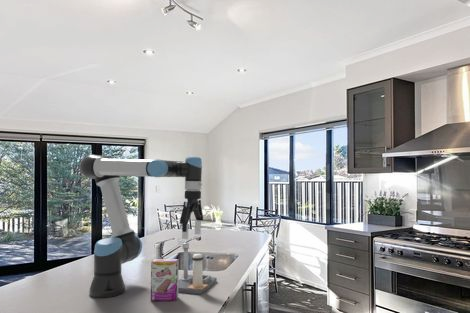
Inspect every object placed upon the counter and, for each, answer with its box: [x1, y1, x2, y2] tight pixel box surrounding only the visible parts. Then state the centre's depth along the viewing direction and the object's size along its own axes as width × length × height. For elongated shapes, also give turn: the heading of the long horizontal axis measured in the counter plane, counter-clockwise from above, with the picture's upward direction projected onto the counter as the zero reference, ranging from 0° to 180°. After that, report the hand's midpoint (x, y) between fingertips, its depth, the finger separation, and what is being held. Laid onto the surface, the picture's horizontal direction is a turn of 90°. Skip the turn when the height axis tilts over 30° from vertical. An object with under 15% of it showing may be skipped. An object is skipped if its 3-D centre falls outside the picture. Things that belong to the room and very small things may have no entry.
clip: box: [177, 238, 190, 250], centre depth 178 cm, size 3×15×2 cm, turn 23°
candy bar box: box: [150, 258, 180, 302], centre depth 151 cm, size 11×5×16 cm, turn 92°
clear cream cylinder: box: [191, 253, 204, 288], centre depth 161 cm, size 5×5×14 cm
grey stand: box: [178, 249, 218, 295], centre depth 168 cm, size 20×16×17 cm
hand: (191, 236), depth 163 cm, fingers open, 13 cm apart
